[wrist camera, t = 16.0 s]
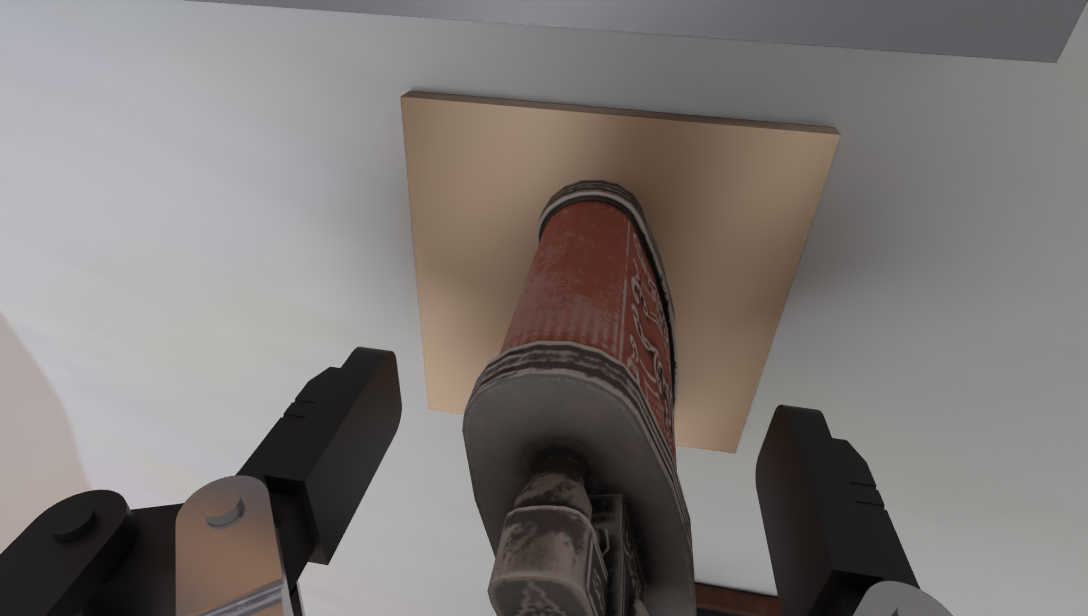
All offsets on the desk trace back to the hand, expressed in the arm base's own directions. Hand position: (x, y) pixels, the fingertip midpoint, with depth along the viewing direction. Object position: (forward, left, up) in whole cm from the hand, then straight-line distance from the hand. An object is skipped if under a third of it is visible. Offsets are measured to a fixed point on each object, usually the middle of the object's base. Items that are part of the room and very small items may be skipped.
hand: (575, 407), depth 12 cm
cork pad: (0, 0, -5) cm, 5 cm away
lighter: (-1, 0, -4) cm, 5 cm away
